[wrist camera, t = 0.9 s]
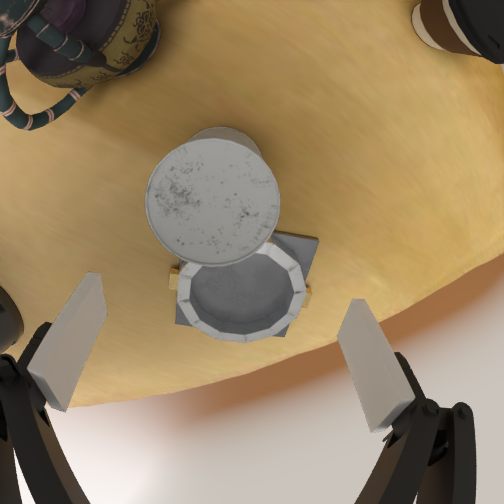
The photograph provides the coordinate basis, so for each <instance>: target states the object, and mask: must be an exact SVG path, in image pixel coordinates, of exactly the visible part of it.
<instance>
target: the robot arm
mask: <svg viewBox="0 0 504 504" xmlns="http://www.w3.org/2000/svg"><path fill="white" fill-rule="evenodd" d="M107 315H108V314H107V309H106V304H105V298H104V293H103V287H102V280H101V274H99V273H92V272H87V274H86V275H85V276H84V278H83V279H82V281H81V282H80V283H79V285H78V286H77V288H76V289H75V291H74V292H73V293H72V295H71V296H70V298H69V299H68V301H67V302H66V304H65V305H64V307H63V308H62V310H61V311H60V313H59V314H58V316H57V318H56V319H55V321H54V322H53V323H49V322H45V323H44V324H42V325H41V326H40V327H39V328H38V329H37V330H36V332H35V333H34V335H33V338H31V340H30V341H29V344H28V345H27V346H26V348H25V350H24V351H23V353H22V355H21V357H20V358H19V360H18V362H17V363H16V361H15V359H14V358H13V357H12V356H11V355H9V354H1V353H3V352H4V351H5V350H6V349H8V348H9V347H10V346H11V345H14V344H15V343H16V342H17V341H18V340H19V338H20V337H21V335H22V333H23V322H22V318H21V316H20V313H19V311H18V309H17V308H16V306H15V304H14V303H13V301H12V300H11V298H10V297H9V296H8V295H7V293H6V292H5V291H4V290H3V289H2V288H1V287H0V504H22V500H21V496H20V490H19V485H18V479H17V474H16V467H15V459H14V450H15V453H16V456H17V459H18V462H19V465H20V468H21V470H22V473H23V476H24V478H25V481H26V483H27V485H28V488H29V490H30V492H31V495H32V497H33V499H34V501H35V503H36V504H90V502H89V501H88V499H87V497H86V496H85V494H84V492H83V490H82V489H81V487H80V485H79V483H78V481H77V479H76V478H75V476H74V474H73V472H72V470H71V468H70V466H69V464H68V462H67V460H66V457H65V455H64V453H63V451H62V449H61V447H60V444H59V442H58V439H57V437H56V435H55V432H54V430H53V427H52V425H51V422H50V419H49V416H48V414H47V411H46V409H45V408H44V406H45V403H46V401H47V402H48V403H49V405H50V406H51V408H54V409H57V410H59V411H63V412H66V410H67V408H68V405H69V403H70V400H71V397H72V395H73V392H74V390H75V387H76V385H77V382H78V380H79V377H80V375H81V372H82V370H83V368H84V365H85V363H86V361H87V358H88V356H89V354H90V351H91V349H92V347H93V345H94V343H95V340H96V338H97V336H98V334H99V332H100V330H101V328H102V326H103V323H104V321H105V319H106V317H107ZM337 338H338V341H339V343H340V346H341V349H342V351H343V354H344V356H345V359H346V362H347V365H348V367H349V371H350V373H351V376H352V379H353V382H354V385H355V388H356V390H357V393H358V396H359V399H360V402H361V405H362V408H363V411H364V413H365V417H366V420H367V423H368V426H369V429H370V432H371V433H376V432H381V431H385V430H386V429H387V428H388V427H389V426H390V425H392V428H393V430H392V431H391V432H390V433H389V434H388V435H387V436H386V437H385V438H384V439H383V442H384V441H386V440H387V441H386V444H385V446H384V448H383V451H382V453H381V455H380V457H379V459H378V461H377V463H376V465H375V467H374V469H373V471H372V473H371V475H370V477H369V479H368V481H367V483H366V484H365V486H364V488H363V490H362V491H361V493H360V495H359V497H358V498H357V500H356V502H355V503H354V504H413V502H414V500H415V497H416V495H417V501H416V504H475V499H476V443H475V428H474V418H473V412H472V410H471V408H470V407H469V406H468V405H467V404H466V403H463V402H458V403H457V404H455V405H454V406H453V407H452V408H441V407H439V406H438V404H437V403H436V402H435V401H433V400H431V399H428V398H427V399H426V397H425V395H424V393H423V391H422V389H421V387H420V385H419V383H418V381H417V379H416V377H415V375H414V374H413V371H412V369H410V366H409V364H408V362H407V360H406V359H405V358H404V357H403V356H402V354H400V352H393V351H392V349H391V346H390V345H389V343H388V341H387V339H386V337H385V335H384V333H383V331H382V330H381V328H380V326H379V324H378V322H377V320H376V319H375V317H374V315H373V313H372V311H371V310H370V308H369V306H368V304H367V302H366V301H365V299H352V301H351V304H350V306H349V309H348V311H347V313H346V316H345V318H344V320H343V323H342V325H341V327H340V330H339V332H338V334H337ZM13 447H14V449H13ZM417 492H418V494H417Z"/></svg>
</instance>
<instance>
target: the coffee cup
mask: <svg viewBox="0 0 504 504" xmlns="http://www.w3.org/2000/svg"><path fill="white" fill-rule="evenodd" d="M412 24H413V27H414V29H415V31H416V33H417V34H418V36H419V37H420V38H421V39H422V40H423V41H424V42H425V43H427V44H428V45H430V46H431V47H434V48H437V49H439V50H447V51H450V52H453V53H460V54H467V55H473V56H478V57H484V58H485V59H487V60H489V61H491V62H493V63H495V64H504V0H422V1H421V3H420V4H418V5H417V6H416V7H415V8H414V11H413V14H412Z"/></svg>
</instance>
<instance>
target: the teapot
mask: <svg viewBox="0 0 504 504" xmlns="http://www.w3.org/2000/svg"><path fill="white" fill-rule="evenodd" d="M158 1H160V0H0V112H1V114H2V115H3V116H4V117H5V119H6V120H8V121H9V122H10V123H11V124H13V125H14V126H15V127H17V128H19V129H24V130H29V131H30V130H34V129H37V128H40V127H43V126H45V125H46V124H48V123H50V122H52V121H53V120H55V119H57V118H58V117H59V116H61V115H62V114H63V113H65V112H66V111H67V110H69V109H70V108H71V107H72V105H73V104H74V103H75V102H76V101H77V100H78V99H79V98H80V97H81V96H82V95H83V94H85V93H86V92H87V91H88V90H90V89H91V88H92V86H93V85H94V84H97V83H100V82H104V81H107V80H109V79H110V78H118V77H122V76H127V75H130V74H131V73H133V72H135V71H137V70H139V69H140V68H141V67H142V66H144V65H145V64H146V63H147V62H148V61H149V60H150V59H151V57H152V56H153V54H154V53H155V51H156V50H157V47H158V44H159V41H160V38H161V37H160V25H159V22H158V20H157V18H156V3H157V2H158ZM16 30H17V39H16V47H17V48H16V49H12V50H8V48H9V44H10V41H11V37H12V36H13V35H14V33H15V32H16ZM16 60H21V61H22V63H23V64H24V65H25V66H26V68H27V69H28V70H29V71H30V72H31V73H32V74H33V75H34V76H35V77H36V78H38V79H39V80H41V81H43V82H45V83H47V84H49V85H51V86H53V87H59V88H74V89H73V90H72V91H70V92H69V93H68V94H67V95H66V96H65V98H64V99H63V100H61V101H60V102H58V103H57V104H55V105H54V106H52V107H51V108H49V109H47V110H45V111H43V112H41V113H37V114H33V115H29V114H26V113H24V112H23V111H22V110H21V109H20V108H19V107H18V105H17V104H16V102H15V101H14V99H13V98H12V96H11V95H10V92H9V87H8V82H7V78H6V63H9V62H12V61H16Z"/></svg>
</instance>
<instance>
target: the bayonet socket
mask: <svg viewBox="0 0 504 504" xmlns="http://www.w3.org/2000/svg"><path fill="white" fill-rule="evenodd" d="M318 243H319V240H318V239H317V238H313V237H307V236H302V235H296V234H291V233H285V232H279V231H273V233H272V235H271V237H270V238H269V239H268V241H267V242H266V243H265V244H264V245H263V247H262V248H261V249H259V250H258V251H257V252H255V253H254V254H253V255H252V256H250V257H248V258H246V259H244V260H242V261H240V262H238V263H234V264H230V265H226V266H215V267H208V266H201V265H195V264H193V263H190V262H187V261H184V260H182V259H180V266H179V269H173V268H171V271H170V276H169V290H175V291H177V304H176V321H175V324H180V325H186V326H193V327H195V328H197V329H199V330H200V331H202V332H204V333H206V334H207V335H209V336H211V337H213V338H214V339H216V338H217V340H225V341H233V342H242V343H248V342H252V341H255V340H259V339H263V338H266V337H270V336H277V337H285V334H286V332H287V329H288V327H289V324H290V322H292V321H293V320H294V319H295V318H297V316H298V314H299V311H300V308H301V307H302V308H307V306H308V303H309V301H310V298H311V295H312V292H311V289H310V288H306V286H305V281H306V278H307V275H308V272H309V269H310V266H311V264H312V261H313V258H314V255H315V252H316V249H317V246H318Z"/></svg>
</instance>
